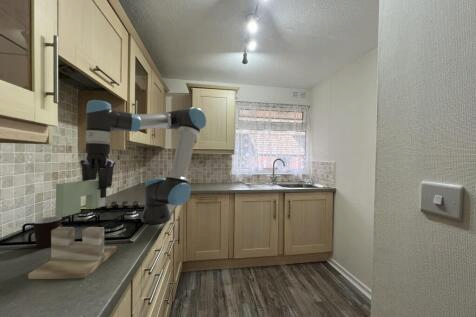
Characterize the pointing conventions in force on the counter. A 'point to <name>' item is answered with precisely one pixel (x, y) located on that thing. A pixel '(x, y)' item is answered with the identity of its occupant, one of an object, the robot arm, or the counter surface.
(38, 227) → the coffee mug
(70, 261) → the slotted base
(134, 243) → the counter surface
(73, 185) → the sage slotted plate
